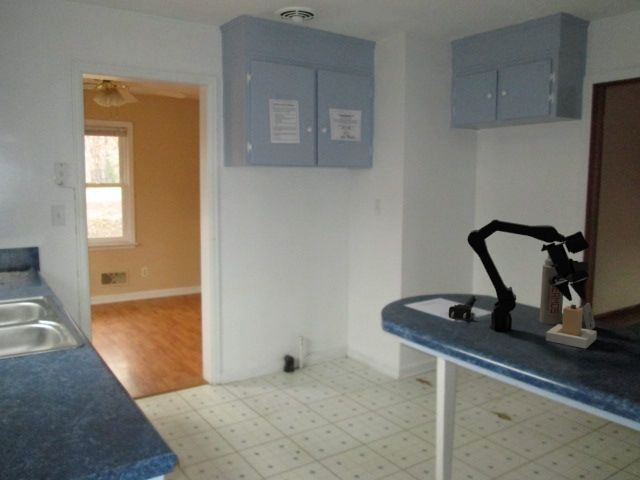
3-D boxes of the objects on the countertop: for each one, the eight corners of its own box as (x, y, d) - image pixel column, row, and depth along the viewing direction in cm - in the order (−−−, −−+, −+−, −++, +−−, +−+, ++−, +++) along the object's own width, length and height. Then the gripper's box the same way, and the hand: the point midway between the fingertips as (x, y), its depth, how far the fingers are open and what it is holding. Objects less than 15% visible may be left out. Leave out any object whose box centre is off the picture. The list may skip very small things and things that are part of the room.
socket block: (545, 340, 190) (546, 332, 190) (557, 332, 200) (558, 324, 199) (585, 348, 182) (586, 340, 181) (596, 339, 191) (596, 331, 191)
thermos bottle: (561, 325, 208) (566, 253, 204) (539, 323, 211) (543, 252, 207) (561, 320, 215) (565, 250, 211) (539, 318, 218) (543, 249, 214)
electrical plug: (446, 321, 214) (446, 308, 214) (463, 301, 252) (463, 291, 252) (468, 323, 211) (469, 310, 210) (482, 303, 249) (482, 292, 248)
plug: (561, 339, 190) (563, 305, 189) (565, 335, 194) (568, 302, 193) (578, 342, 187) (580, 308, 185) (582, 338, 191) (584, 305, 189)
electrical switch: (589, 333, 199) (588, 308, 198) (574, 331, 202) (573, 307, 202) (595, 327, 206) (594, 303, 206) (580, 326, 210) (580, 302, 209)
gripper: (594, 248, 185) (613, 291, 183) (567, 254, 203) (584, 293, 201) (564, 259, 184) (583, 302, 182) (540, 264, 202) (557, 303, 200)
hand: (577, 300), depth 191 cm, fingers open, 9 cm apart
